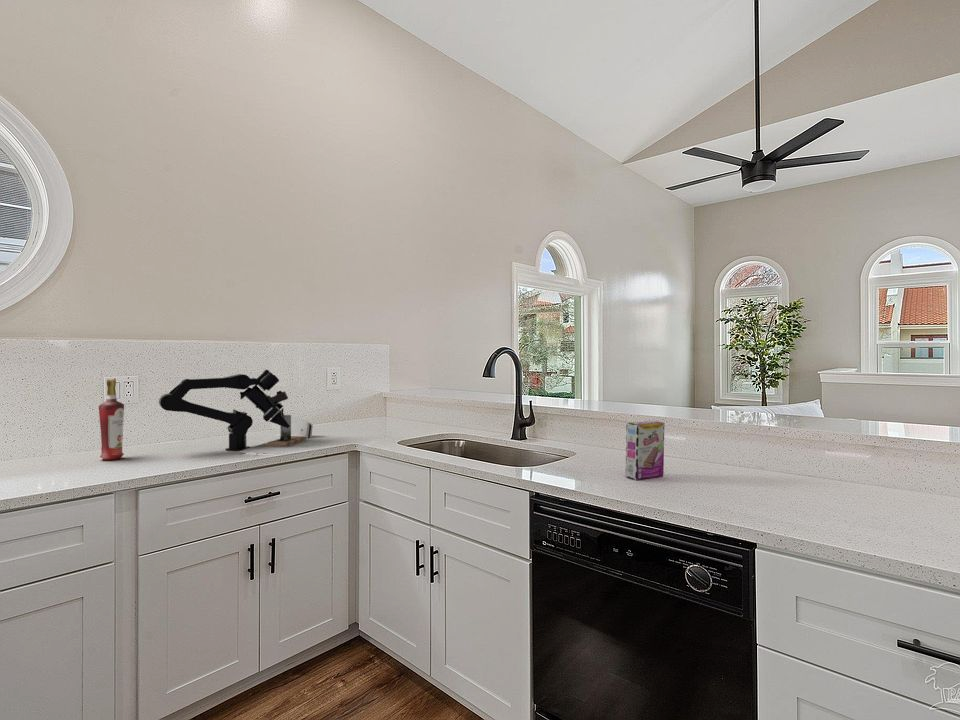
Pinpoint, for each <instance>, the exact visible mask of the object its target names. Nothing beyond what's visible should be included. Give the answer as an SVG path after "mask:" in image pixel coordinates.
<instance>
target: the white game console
mask: <svg viewBox="0 0 960 720" xmlns="http://www.w3.org/2000/svg"><path fill="white" fill-rule="evenodd" d="M313 428H314V426H313V424H312V423H311V422H310V421H307V420H305V419H302V418H291V436H303V437H306V440H307V439H311V438H312V436H313ZM273 439H280V425H278V428H277V431H276V433H275V434H274V435H273V438H272V440H273Z"/></svg>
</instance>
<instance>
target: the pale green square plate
mask: <svg viewBox="0 0 960 720" xmlns="http://www.w3.org/2000/svg"><path fill="white" fill-rule="evenodd" d="M327 443H328V442H325V441H324V442H319V441H316V442H315V441H307V442H305V443H302V444H298V446H299V447H300V446H301V447H306V446H307V447H320V446H322V445H324V444H327Z"/></svg>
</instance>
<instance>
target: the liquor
mask: <svg viewBox="0 0 960 720" xmlns="http://www.w3.org/2000/svg"><path fill="white" fill-rule="evenodd" d="M116 386H117V379H116V378H108V379H106V388H107V390H106V400H105V401H104V402H102V403H100V404H99V405H98V414H99V415H98V418H99V419H98V420H99V430H100V445H101V446H100V448H101V451H100V452H101V454H100V456H99V457H100V458H101V459H103V460H104V461H116V459H117V460H119V459H121V458H122V457H123V456H124V455H125V454H124V453H123V438H124V419H125V417H124V416H125V404H124V403H122V402H120V401H117V400H118V399H117V392H116Z"/></svg>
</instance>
